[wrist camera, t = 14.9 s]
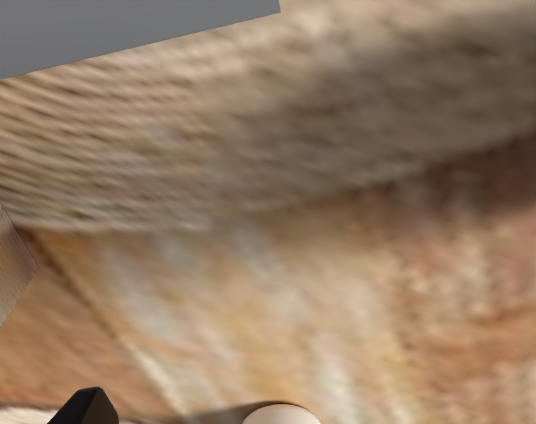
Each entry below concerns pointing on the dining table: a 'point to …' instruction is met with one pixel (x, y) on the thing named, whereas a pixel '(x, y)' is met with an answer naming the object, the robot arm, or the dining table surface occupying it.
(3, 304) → the steel cover
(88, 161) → the dining table surface
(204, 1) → the slate board
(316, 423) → the drinking glass
